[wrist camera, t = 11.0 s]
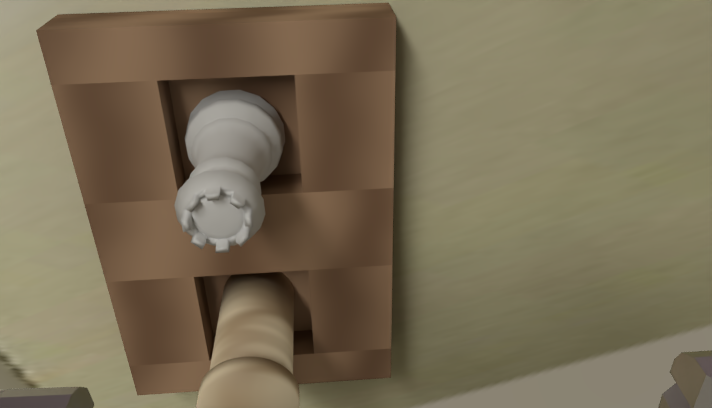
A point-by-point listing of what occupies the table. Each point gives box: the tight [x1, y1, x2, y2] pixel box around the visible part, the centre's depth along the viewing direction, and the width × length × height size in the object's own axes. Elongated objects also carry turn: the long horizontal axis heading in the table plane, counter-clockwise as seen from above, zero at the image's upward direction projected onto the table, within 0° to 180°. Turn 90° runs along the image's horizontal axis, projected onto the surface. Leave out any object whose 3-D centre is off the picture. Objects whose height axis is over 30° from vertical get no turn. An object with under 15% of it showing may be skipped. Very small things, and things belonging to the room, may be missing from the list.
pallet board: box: [36, 3, 396, 408], centre depth 28 cm, size 14×20×9 cm
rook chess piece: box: [174, 90, 285, 253], centre depth 25 cm, size 4×4×8 cm
